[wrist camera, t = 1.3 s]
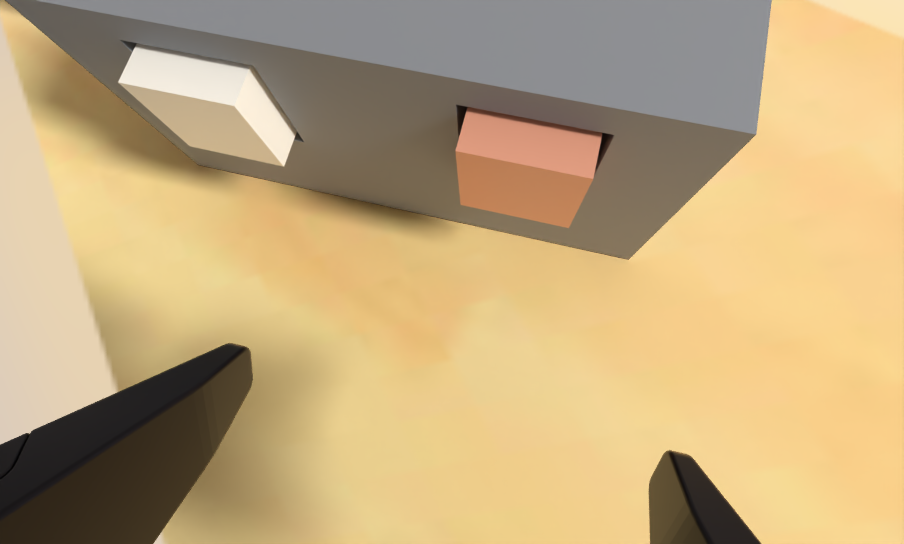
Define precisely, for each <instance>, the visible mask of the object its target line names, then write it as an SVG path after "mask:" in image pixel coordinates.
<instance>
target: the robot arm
mask: <svg viewBox="0 0 904 544" xmlns="http://www.w3.org/2000/svg"><path fill="white" fill-rule="evenodd" d="M252 381H253V373H252V362H251V353H250V350H249V348H247V347H245V346H241V345H237V344H233V343H228V344H225V345H223V346H220V347H218V348H216V349H214V350H211V351H209V352H207V353H205V354H203V355H200V356H198V357H196V358H194V359H191V360H189V361H187V362H185V363H182V364H180V365H178V366H176V367H173V368H171V369H169V370H167V371H164V372H162V373H160V374H158V375H156V376H153V377H151V378H149V379H147V380H144V381H142V382H140V383H138V384H135V385H133V386H131V387H129V388H126V389H124V390H122V391H120V392H117V393H115V394H113V395H111V396H109V397H106V398H104V399H102V400H100V401H97V402H95V403H93V404H91V405H88V406H86V407H84V408H82V409H80V410H77V411H75V412H73V413H71V414H68V415H66V416H64V417H62V418H59V419H57V420H55V421H53V422H50V423H48V424H46V425H44V426H41V427H39V428H37V429H35V430H33V431H31V433H30V434H29V433H26V434H23V435H21V436H19V437H17V438H14V439H12V440H10V441H8V442H5V443H3V444H1V445H0V544H153V543H154V542H155V540H156V539H157V538H158V536H159V535H160V533H161V532H162V530H163V529H164V527H165V526H166V524H167V523H168V522H169V520H170V519H171V517H172V516H173V514H174V513H175V511H176V510H177V508H178V507H179V506H180V504H181V503H182V501H183V500H184V498H185V497H186V495H187V494H188V493H189V491H190V490H191V488H192V487H193V485H194V484H195V482H196V481H197V479H198V478H199V477H200V475H201V474H202V472H203V471H204V469H205V468H206V466H207V465H208V463H209V462H210V460H211V459H212V457H213V456H214V454H215V452H216V450H217V449H218V447H219V445H220V443H221V442H222V440H223V438H224V436H225V434H226V432H227V431H228V429H229V427H230V425H231V423H232V421H233V420H234V418H235V416H236V414H237V412H238V410H239V409H240V407H241V405H242V403H243V401H244V399H245V397H246V396H247V394H248V392H249V390H250V388H251V385H252ZM649 519H650V544H761V543H760V541H759V540H758V539H757V538H756V536H755V535H754V534H753V533H752V531H751V530H750V529H749V528H748V526H747V525H746V524H745V523H744V521H743V520H742V519H741V518H740V516H739V515H738V514H737V513H736V511H735V510H734V509H733V508H732V506H731V505H730V504H729V503H728V501H727V500H726V499H725V498H724V496H723V495H722V494H721V493H720V491H719V490H718V489H717V488H716V486H715V485H714V484H713V483H712V481H711V480H710V479H709V478H708V476H707V475H706V474H705V473H704V471H703V470H702V469H701V468H700V466H699V465H698V464H697V463H696V461H695V460H694V459H693V458H692V457H691V456H689V455H687V454H683V453H679V452H675V451H671V450H669V451H666V452H665V453H664V454H663V456H662V458H661V460H660V462H659V463H658V465H657V467H656V469H655V471H654V473H653V475H652V477H651V479H650V483H649Z"/></svg>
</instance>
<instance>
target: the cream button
mask: <svg viewBox="0 0 904 544" xmlns="http://www.w3.org/2000/svg"><path fill="white" fill-rule="evenodd" d="M118 83H119V84H120V85H122V86H123V87H124V88H125V89H126V90H127V91H128V92H129V93H130V94H132V95H133V96H134V97H135V98H136V99H137V100H138V101H139V102H141V103H142V104H143V105H144V106H145V107H146V108H147V109H148V110H150V111H151V112H152V113H153V114H154V115H155V116H156V117H157V118H158V119H160V120H161V121H162V122H163V123H164V124H165V125H166V126H167V127H169V128H170V129H171V130H172V131H173V132H174V133H175V134H176V135H178V136H179V137H180V138H181V139H182V140H183V141H184V142H185V143H187V144H188V145H189V146H191V147H195V148H200V149H205V150H209V151H214V152H218V153H223V154H228V155H232V156H237V157H242V158H246V159H251V160H256V161H260V162H265V163H269V164H274V165H279V166H283V167H284V165H285V163H286V160H287V157H288V154H289V152H290V149H291V146H292V144H293V141H294V138H295V135H296V133H297V130H296V129H295V127H294V126H293V124H292V123H291V121H290V120H289V118H288V117H287V115H286V114H285V112H284V111H283V109H282V108H281V106H280V105H279V103H278V102H277V100H276V99H275V97H274V96H273V94H272V93H271V91H270V90H269V88H268V87H267V85H266V84H265V82H264V81H263V79H262V78H261V76H260V75H259V73H258V72H257V70H256V69H255V67H254V66H253V65H248V64H242V63H237V62H232V61H227V60H222V59H216V58H211V57H206V56H201V55H196V54H190V53H185V52H180V51H175V50H170V49H164V48H159V47H154V46H149V45H144V44H138V43H137V44H136V46H135V48H134V50H133V52H132V54H131V56H130V58H129V60H128V63H127V65H126V67H125V69H124V71H123V73H122V75H121V77H120V79H119V81H118Z"/></svg>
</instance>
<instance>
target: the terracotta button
mask: <svg viewBox="0 0 904 544" xmlns="http://www.w3.org/2000/svg"><path fill="white" fill-rule="evenodd" d="M601 138H602V132H596V131H591V130H586V129H581V128H576V127H570V126H565V125H560V124H555V123H550V122H544V121H539V120H534V119H529V118H524V117H518V116H513V115H508V114H503V113H498V112H492V111H487V110H482V109H477V108H472V107H467V111H466V115H465V118H464V122H463V125H462V129H461V133H460V136H459V140H458V143H457V147H456V151H455V152H456V162H457V173H458V183H459V194H460V204H461V205H464V206H469V207H473V208H478V209H482V210H487V211H492V212H496V213H501V214H506V215H510V216H515V217H519V218H524V219H529V220H533V221H538V222H543V223H547V224H552V225H556V226H561V227H566V228H569V227H570V225H571V223H572V221H573V219H574V217H575V215H576V213H577V211H578V209H579V207H580V205H581V203H582V201H583V199H584V197H585V195H586V193H587V191H588V189H589V187H590V185H591V183H592V181H593V178H594V173H595V168H596V163H597V158H598V153H599V148H600V143H601Z"/></svg>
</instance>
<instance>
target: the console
mask: <svg viewBox="0 0 904 544" xmlns="http://www.w3.org/2000/svg"><path fill="white" fill-rule="evenodd" d="M5 1H7V2H8V3H9V4H10V5H11V6H12V7H14V8H15V9H16V10H17V11H18V12H19V13H21V14H22V15H23V16H24V17H25V18H26V19H28V20H29V21H30V22H31V23H32V24H34V25H35V26H36V27H37V28H38V29H39V30H41V31H42V32H43V33H44V34H45V35H46V36H48V37H49V38H50V39H51V40H52V41H53V42H55V43H56V44H57V45H58V46H59V47H60V48H62V49H63V50H64V51H65V52H66V53H68V54H69V55H70V56H71V57H72V58H73V59H75V60H76V61H77V62H78V63H79V64H80V65H82V66H83V67H84V68H85V69H86V70H87V71H89V72H90V73H91V74H92V75H93V76H94V77H96V78H97V79H98V80H99V81H100V82H102V83H103V84H104V85H105V86H106V87H107V88H109V89H110V90H111V91H112V92H113V93H114V94H116V95H117V96H118V97H119V98H120V99H121V100H123V101H124V102H125V103H126V104H127V105H128V106H130V107H131V108H132V109H133V110H134V111H136V112H137V113H138V114H139V115H140V116H141V117H143V118H144V119H145V120H146V121H147V122H148V123H150V124H151V125H152V126H153V127H154V128H155V129H157V130H158V131H159V132H160V133H161V134H162V135H164V136H165V137H166V138H167V139H168V140H170V141H171V142H172V143H173V144H174V145H175V146H177V147H178V148H179V149H180V150H181V151H182V152H184V153H185V154H186V155H187V156H188V157H189V158H191V159H192V160H193V161H194V162H195V163H196V164H198V165H202V166H206V167H211V168H215V169H220V170H224V171H229V172H233V173H238V174H242V175H247V176H252V177H256V178H261V179H265V180H270V181H274V182H279V183H283V184H288V185H292V186H297V187H302V188H306V189H311V190H315V191H320V192H324V193H329V194H333V195H338V196H342V197H347V198H351V199H356V200H361V201H365V202H370V203H374V204H379V205H383V206H388V207H392V208H397V209H401V210H406V211H411V212H415V213H420V214H424V215H429V216H433V217H438V218H442V219H447V220H451V221H456V222H460V223H465V224H470V225H474V226H479V227H483V228H488V229H492V230H497V231H501V232H506V233H510V234H515V235H519V236H524V237H529V238H533V239H538V240H542V241H547V242H551V243H556V244H560V245H565V246H569V247H574V248H579V249H583V250H588V251H592V252H597V253H601V254H606V255H610V256H615V257H619V258H624V259H628V260H629V259H630V258H631V257H632V256H633V255H634V254H635V253H636V252H637V251H638V250H639V249H640V248H641V247H642V246H643V245H644V244H645V243H646V242H647V241H648V240H649V239H650V238H651V237H652V236H653V235H654V234H655V233H656V232H657V231H658V230H659V229H660V228H661V227H662V226H663V225H664V224H665V223H666V222H667V221H668V220H669V219H670V218H671V217H672V216H673V215H674V214H676V213H677V212H678V211H679V210H680V209H681V208H682V207H683V206H684V205H685V204H686V203H687V202H688V201H689V200H690V199H691V198H692V197H693V196H694V195H695V194H696V193H697V192H698V191H699V190H700V189H701V188H702V187H703V186H704V185H705V184H706V183H707V182H708V181H709V180H710V179H711V178H712V177H713V176H714V175H715V174H716V173H717V172H718V171H719V170H720V169H721V168H722V167H723V166H724V165H726V164H727V163H728V162H729V161H730V160H731V159H732V158H733V157H734V156H735V155H736V154H737V153H738V152H739V151H740V150H741V149H742V148H743V147H744V146H745V145H746V144H747V143H748V142H749V141H750V140H751V139H752V138H753V137H754V136H755V135H756V131H757V123H758V114H759V105H760V97H761V88H762V79H763V70H764V62H765V53H766V44H767V35H768V27H769V18H770V9H771V1H772V0H5ZM137 43H138V44H144V45H149V46H154V47H159V48H164V49H170V50H175V51H180V52H185V53H190V54H196V55H201V56H206V57H211V58H216V59H222V60H227V61H232V62H237V63H242V64H248V65H253V66H254V67H255V69H256V70H257V72H258V73H259V75H260V76H261V78H262V79H263V81H264V82H265V84H266V85H267V87H268V88H269V90H270V91H271V93H272V94H273V96H274V97H275V99H276V100H277V102H278V103H279V105H280V106H281V108H282V109H283V111H284V112H285V114H286V115H287V117H288V118H289V120H290V121H291V123H292V124H293V126H294V127H295V129H296V130H297V133H296V135H295V138H294V141H293V144H292V146H291V149H290V152H289V154H288V157H287V160H286V163H285V165H284V167H283V166H279V165H274V164H269V163H265V162H260V161H256V160H251V159H246V158H242V157H237V156H232V155H228V154H223V153H218V152H214V151H209V150H205V149H200V148H195V147H191V146H189V145H188V144H187V143H185V142H184V141H183V140H182V139H181V138H180V137H179V136H178V135H176V134H175V133H174V132H173V131H172V130H171V129H170V128H169V127H167V126H166V125H165V124H164V123H163V122H162V121H161V120H160V119H158V118H157V117H156V116H155V115H154V114H153V113H152V112H151V111H150V110H148V109H147V108H146V107H145V106H144V105H143V104H142V103H141V102H139V101H138V100H137V99H136V98H135V97H134V96H133V95H132V94H130V93H129V92H128V91H127V90H126V89H125V88H124V87H123V86H122V85H120V84H119V83H118V81H119V79H120V77H121V75H122V73H123V71H124V69H125V67H126V65H127V63H128V60H129V58H130V56H131V54H132V52H133V50H134V48H135V46H136V44H137ZM467 107H472V108H477V109H482V110H487V111H492V112H498V113H503V114H508V115H513V116H518V117H524V118H529V119H534V120H539V121H544V122H550V123H555V124H560V125H565V126H570V127H576V128H581V129H586V130H591V131H596V132H602V138H601V143H600V148H599V153H598V158H597V163H596V168H595V173H594V178H593V181H592V183H591V185H590V187H589V189H588V191H587V193H586V195H585V197H584V199H583V201H582V203H581V205H580V207H579V209H578V211H577V213H576V215H575V217H574V219H573V221H572V223H571V225H570V227H569V228H566V227H561V226H556V225H552V224H547V223H543V222H538V221H533V220H529V219H524V218H519V217H515V216H510V215H506V214H501V213H496V212H492V211H487V210H482V209H478V208H473V207H469V206H464V205H461V204H460V194H459V183H458V173H457V162H456V152H455V151H456V147H457V143H458V140H459V136H460V133H461V129H462V125H463V122H464V118H465V115H466V111H467Z"/></svg>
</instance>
